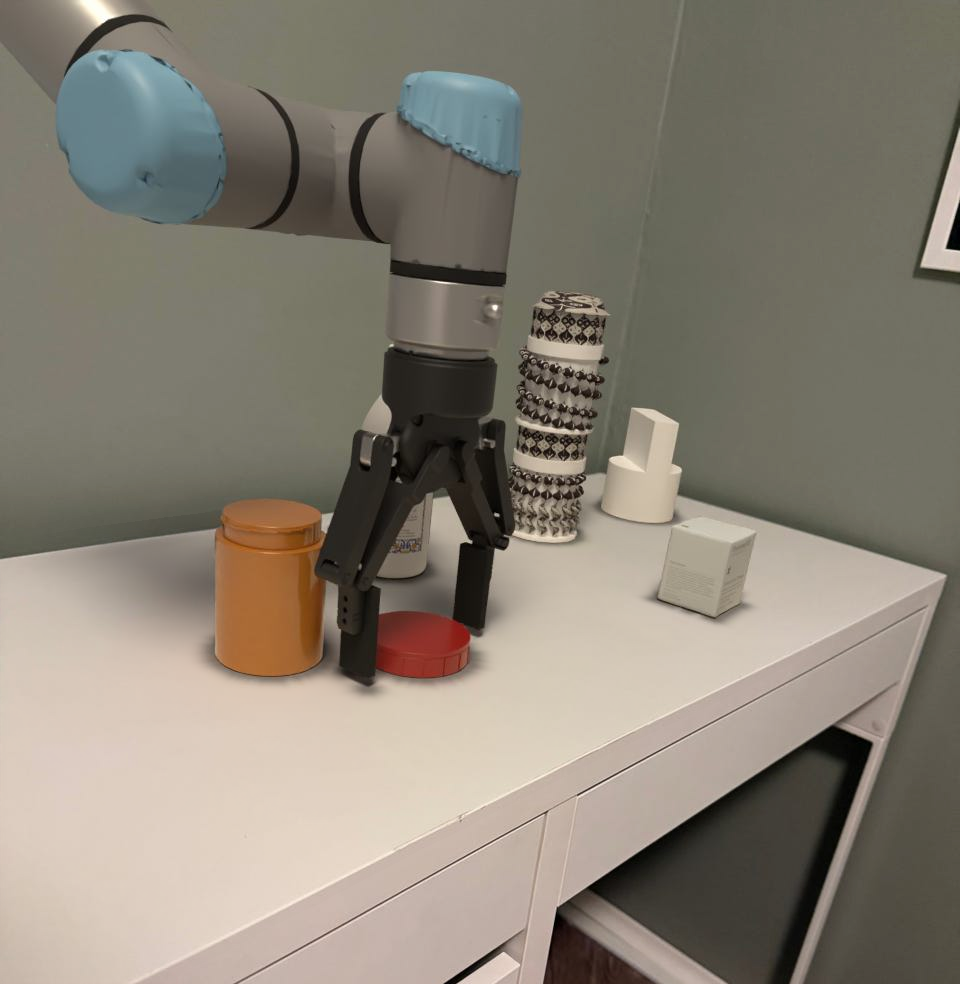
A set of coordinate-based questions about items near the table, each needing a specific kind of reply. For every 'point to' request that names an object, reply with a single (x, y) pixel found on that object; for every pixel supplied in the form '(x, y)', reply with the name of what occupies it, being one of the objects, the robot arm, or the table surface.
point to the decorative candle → (556, 414)
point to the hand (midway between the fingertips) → (416, 646)
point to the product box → (706, 565)
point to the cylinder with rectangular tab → (644, 470)
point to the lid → (421, 644)
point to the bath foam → (415, 532)
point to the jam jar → (269, 587)
